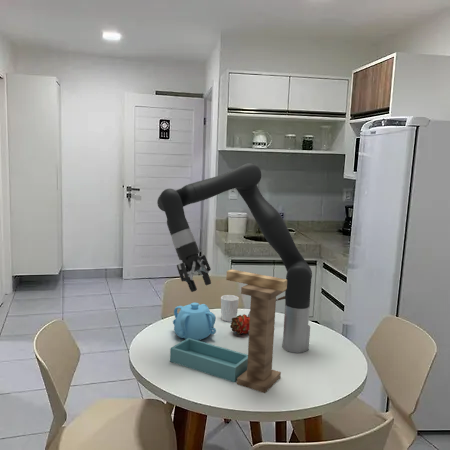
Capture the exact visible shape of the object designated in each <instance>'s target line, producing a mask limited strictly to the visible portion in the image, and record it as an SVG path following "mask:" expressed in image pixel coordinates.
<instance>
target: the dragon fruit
mask: <svg viewBox="0 0 450 450" xmlns="http://www.w3.org/2000/svg"><path fill="white" fill-rule="evenodd" d="M249 325H250V317H248V315H247V314H245V313H244V314H242V315H241V314H239V315H237V317H236V318H232V322H230V329H231V331H232V332H235V333H236V334H237V335H239V336H240V335H242V334H244V335H249Z"/></svg>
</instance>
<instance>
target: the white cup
mask: <svg viewBox="0 0 450 450" xmlns="http://www.w3.org/2000/svg"><path fill="white" fill-rule="evenodd" d="M239 299H240V297H238V296H237V295H233V294H224V295H221V296H220V313H221V314H220V315H221V320H222V321H224V322H230V323H232V318H236V317H237V316H238V311H239V310H238V309H239V301H240V300H239Z"/></svg>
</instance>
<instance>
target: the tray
mask: <svg viewBox="0 0 450 450" xmlns="http://www.w3.org/2000/svg"><path fill="white" fill-rule="evenodd" d="M169 350H170V351H169V352H170V353H169V354H170V355H169V362H171V363H173V364H176V365H179V366H183V367H185V368H186V367H187V368H189V369H193V370H194V371H197V372H202V373H203V374H207V375H210V376H212V377H216V378H219V379H223V380H226V381H229V382H232V383H237V378H238V377H239V376H240V375H241V374H243V373H244V372H245V371H246V370H247V364H248V353H243V352H239V351H237V350H232V349H229V348H226V347H222V346H219V345H215V344H212V343H209V342H204V341H201V340H200V341H198V340H194V339H191V338H187V339H185V338H184V340H182V341H180V342H179V343H177V344H175V345H173V346H172V347H170V349H169Z"/></svg>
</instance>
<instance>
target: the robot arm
mask: <svg viewBox="0 0 450 450" xmlns="http://www.w3.org/2000/svg"><path fill="white" fill-rule="evenodd" d="M261 179H262V171H261V169H260V168H259V166H258V165H256V164H255V163H251V162H248V163H244V164H241V165H240V166H239V167H236V168H235V169H232V170H231V171H230V170H229V171H228V172H225V173H222V174H220V175H216V176H213V177H210V178H206V179H202V180H199V181H195V182H192V183H189V184H186V185H184V186H183V187H181V188H178V189H173V188H166V189H164V190H162V192H161V193H160V194H159V196H158V198H157V203H156V204H157V207H158V208H159V210H161V211H162V212H164V213H165V215H166V225H167V228H168V231H169V234H170V236H171V240H172V244H173V246H174V248H175V249H174V250H175V251H176V254H177V257H178V259H179V261H181V263H179V264H177V265H176V268H177V271H178V274H179V277H180V280H181V282H186V284H187V286H188V288H189V291H190V292H191V293H193V292H196V291H197V289H198V288H197V286H196V284H195V280H194V279H193V278H194V277H193V276H194V274H195V272H198V273H199V274H200V275H201V277H202V279H203V282H204V284H205V285H206V286H208V285H211V284H212V282H211V281H212V280H211V278H210V275H209V272H210V271H211V269H212V268H211V266H210V263H209V262H208V259H207V257H206V255H205V254H204V255H199V254H200V250H199V247H198V245H197V244H198V243H197V242H196V239H195V237H194V233H193V232H192V230H191V228H190V225H189V222H188V221H187V217H186V213H185V210H184V207H186V206H188V205H192V204H195V203H196V204H197V203H199V202H203V201H205V200H208V199H211V198H213V197H215V196H218V195H220V194H222V193H225V192H228V191H230V190H234V189H235V190H236V191H237V192H238V194H239V195H240V196H241V198H242V200H243V201H244V202H245V204H246V206H247V207H248V209H249V211H250V213H251V215H252V216H253V219H254V220H255V221H256V224H257V225H258V228H259V230H260V232H261V234H262V235H263V237H264V239H265V240H266V242H267V243H268V244H269V245H270V246H271V248H272V249H273V250H274V251H275V252H276V254H278V256H279V257H280V260H281V261H282V263H283V265H284V267H285V270H286V276H285V279H287V289H286V291H284V292H285V293H284V296H285V299H284V302H285V303H284V315H283V316H284V317H283V318H284V319H283V334H282V348H283V350H285V351H287V352H290V353H295V354H297V353H298V354H299V353H300V354H301V353H304V352H306V351H309V349H310V338H311V325H310V324H309V322H310V321H309V319H310V307H311V306H310V305H311V288H312V277H313V271H312V269H311V267H310V265H309V264H308V263H307V261H306V260H305V258H304V257H303V255H302V254H301V253H300V250H298V247H297V245H296V244H295V241H294V239H293V237H292V234H291V233H290V231H289V229H288V226H287V225H286V223H285V221H284V219H283V217H282V215H281V214H280V212H278V210H277V209H276V208H275V207H274V206H273V205H272V204H270V203H269V201H267V200H266V198H265V197H264V195H263V194H262V193H261V191H260V189H259V187H258V184H259V183H260V182H261Z"/></svg>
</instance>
